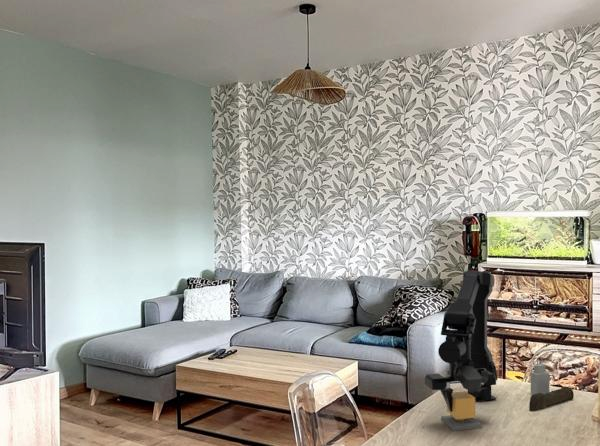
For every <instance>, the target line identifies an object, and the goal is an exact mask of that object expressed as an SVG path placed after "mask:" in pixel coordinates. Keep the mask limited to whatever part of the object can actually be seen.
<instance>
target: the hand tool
mask: <svg viewBox="0 0 600 446" xmlns="http://www.w3.org/2000/svg"><path fill="white" fill-rule="evenodd" d="M530 395H531V394H530ZM574 396H575V395H574V390H573V389H572V388H570V387H568V386H562V387H561V388H558V389H555V390H551V391H549V393H546V394H543V393H537V394H533V395H531V396H530V397H529V404H528V409H529V411H530V412H533V411H541V410H545V408H546V407H548V406H550V405H555V404H558V403H561V402H565V401H567V400H569V401H573V400H574V399H575V397H574Z"/></svg>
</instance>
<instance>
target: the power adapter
mask: <svg viewBox="0 0 600 446" xmlns="http://www.w3.org/2000/svg"><path fill="white" fill-rule="evenodd" d="M540 360H541V363H539V358H538V357H536V363H534V364H533V371H530V395H533V394H537V393H543V394H546V393H549V392H550V372H549V371H546V369H547V368H546V365H547V364H546V363H543V361H544V360H543V356H541V359H540Z"/></svg>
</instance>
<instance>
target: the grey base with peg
mask: <svg viewBox="0 0 600 446" xmlns="http://www.w3.org/2000/svg"><path fill="white" fill-rule="evenodd" d="M440 420H441V421H442V422H444V424H445V425H447V426H448V427H449V428H450V429H451V430H453V431H463V430H471V429H472V430H473V429H482V423H481V422H479V421H478V420H477V419H475V418H466V419H455V418H454V417H452V416H451V415H450V414H449V415H441V416H440Z"/></svg>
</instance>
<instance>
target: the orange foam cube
mask: <svg viewBox="0 0 600 446" xmlns="http://www.w3.org/2000/svg"><path fill="white" fill-rule="evenodd" d="M452 406H453V407H452V412H450V411H449V409H448V406H447V405H446V412H447V413H448V414H449V415H451V416H452V417H454V418H455V419H466V418H474V419H475V418H476V401H475V397H473V396H472V395H470V394H469V393H468V391H466V390H461V391H460V390H459V391H453V392H452Z"/></svg>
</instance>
